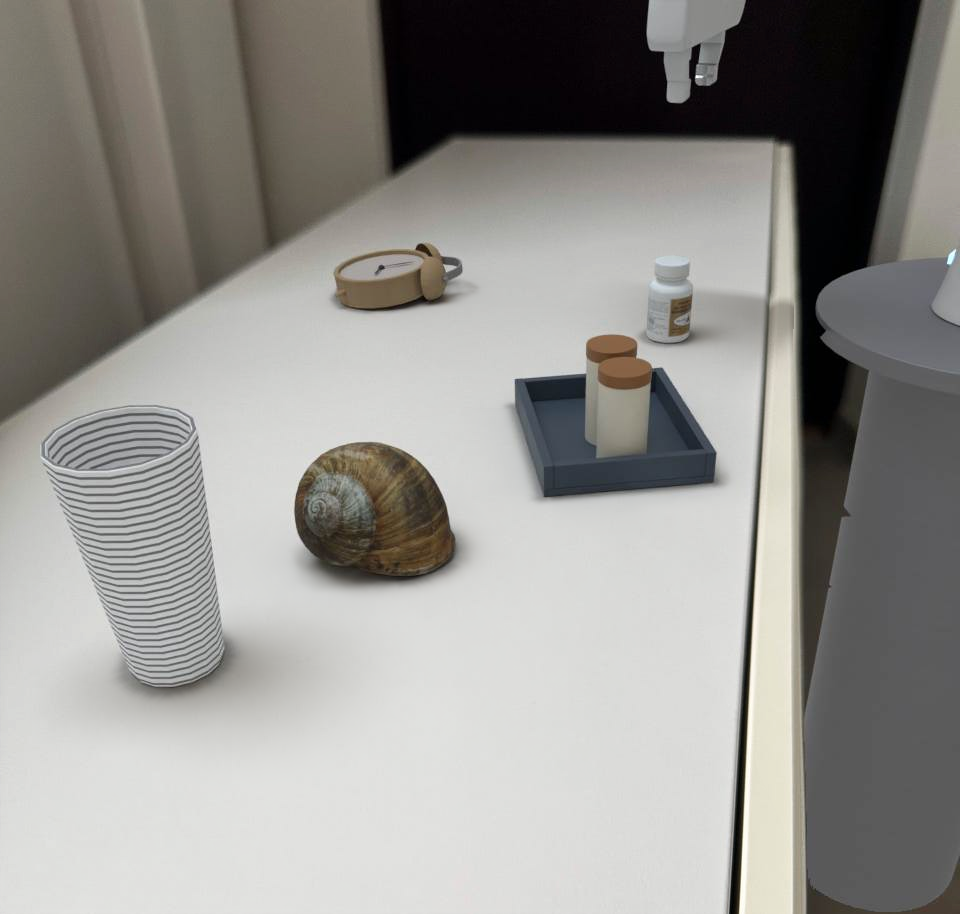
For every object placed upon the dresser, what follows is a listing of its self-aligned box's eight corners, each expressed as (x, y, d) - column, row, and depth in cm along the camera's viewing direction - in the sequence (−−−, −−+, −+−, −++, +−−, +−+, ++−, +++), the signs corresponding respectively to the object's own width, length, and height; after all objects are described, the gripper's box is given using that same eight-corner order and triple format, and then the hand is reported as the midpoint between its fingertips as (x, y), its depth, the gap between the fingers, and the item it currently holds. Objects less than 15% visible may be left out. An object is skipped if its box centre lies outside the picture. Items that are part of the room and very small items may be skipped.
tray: (660, 394, 97) (662, 367, 96) (713, 482, 83) (717, 452, 82) (515, 405, 97) (514, 378, 95) (543, 496, 82) (543, 466, 81)
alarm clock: (330, 258, 126) (451, 226, 125) (342, 298, 129) (461, 267, 128) (331, 288, 117) (461, 253, 116) (343, 330, 120) (471, 297, 119)
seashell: (278, 575, 75) (260, 474, 70) (334, 512, 82) (320, 416, 77) (426, 598, 72) (417, 494, 67) (471, 530, 79) (466, 432, 74)
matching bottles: (627, 425, 91) (631, 332, 86) (651, 473, 84) (657, 374, 79) (580, 428, 91) (581, 336, 86) (600, 477, 83) (603, 379, 79)
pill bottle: (679, 346, 107) (684, 269, 102) (639, 340, 109) (643, 263, 104) (695, 332, 110) (702, 256, 105) (656, 326, 112) (661, 251, 107)
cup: (94, 648, 68) (24, 427, 59) (219, 607, 72) (171, 392, 63) (129, 719, 62) (57, 486, 53) (264, 671, 66) (218, 443, 57)
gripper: (709, -77, 84) (694, 114, 92) (767, -90, 98) (750, 76, 107) (633, -76, 86) (625, 111, 94) (701, -88, 101) (689, 74, 109)
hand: (692, 92), depth 100 cm, fingers open, 8 cm apart
